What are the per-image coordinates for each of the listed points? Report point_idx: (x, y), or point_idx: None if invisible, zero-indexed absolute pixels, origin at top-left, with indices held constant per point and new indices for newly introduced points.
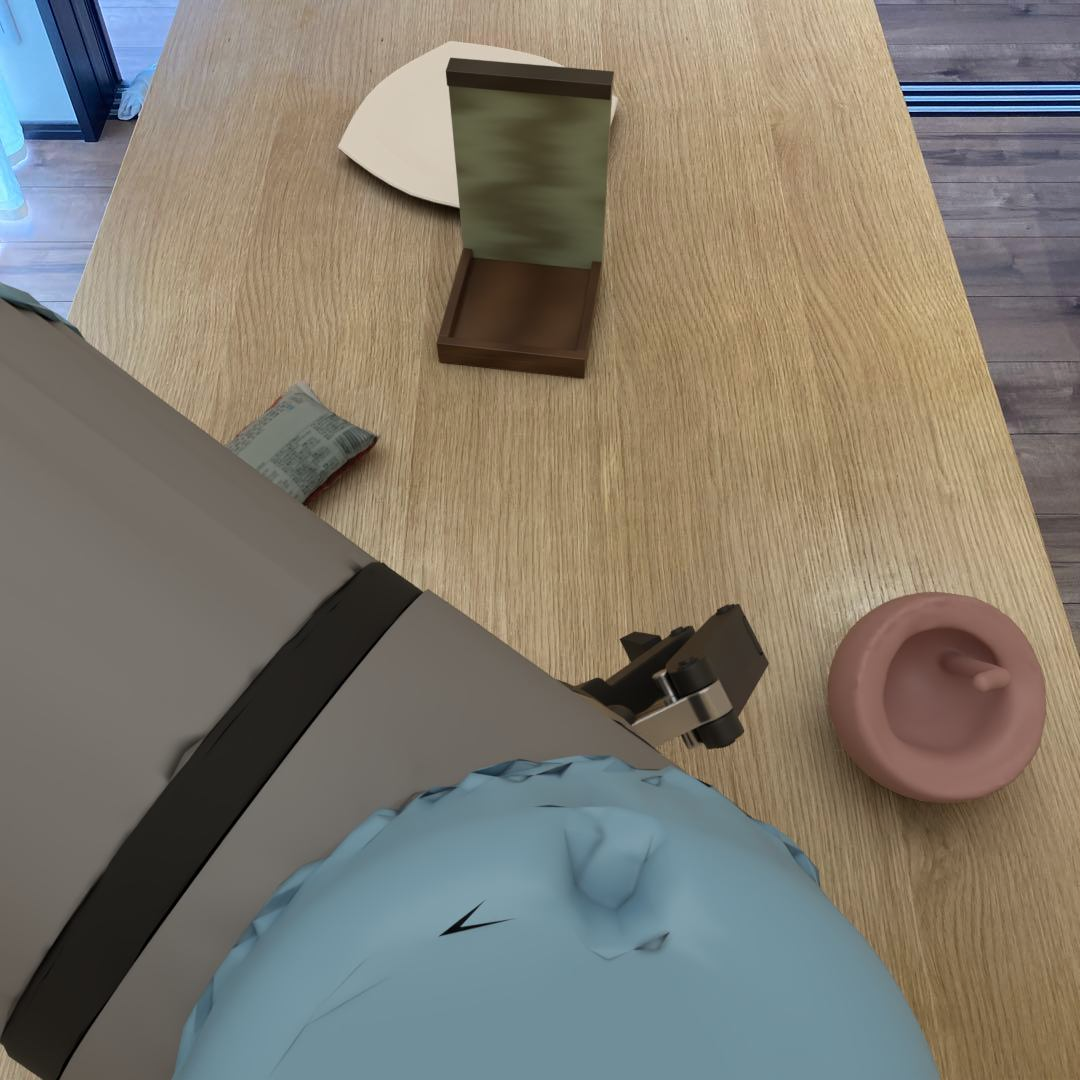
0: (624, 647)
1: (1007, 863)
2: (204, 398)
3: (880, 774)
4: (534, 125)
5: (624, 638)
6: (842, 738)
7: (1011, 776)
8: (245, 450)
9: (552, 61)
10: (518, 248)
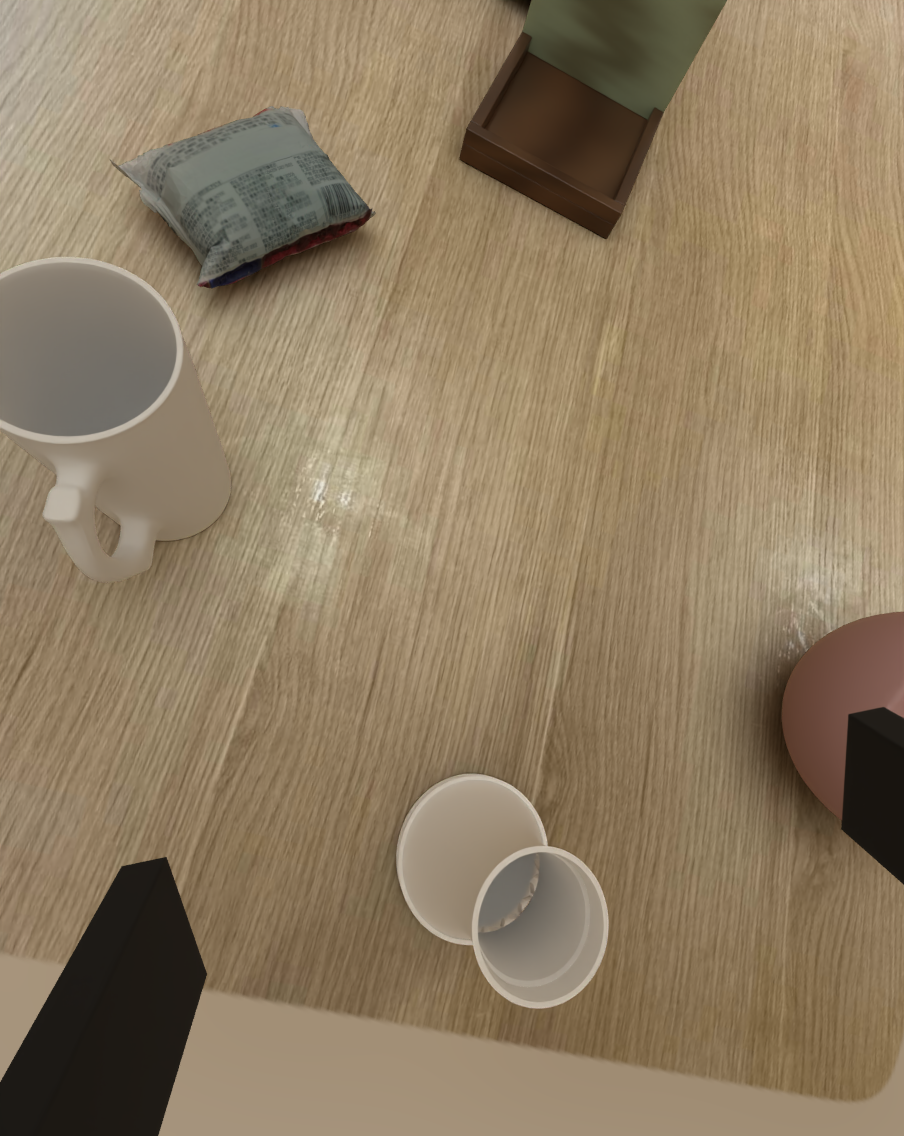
0: (863, 743)
1: (879, 883)
2: (174, 91)
3: None
4: None
5: (895, 738)
6: (810, 749)
7: None
8: (199, 156)
9: None
10: (583, 56)
